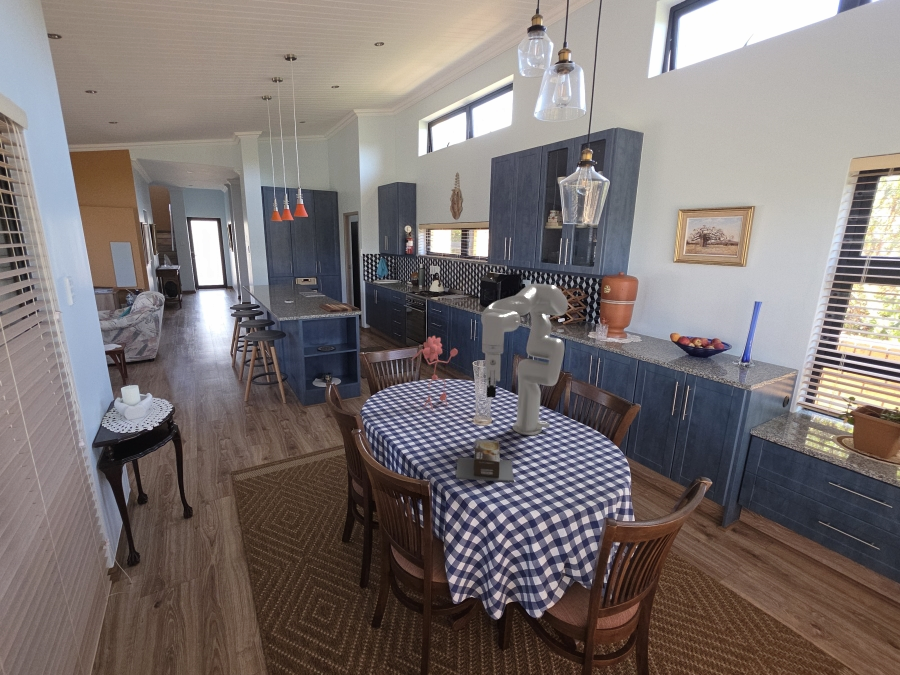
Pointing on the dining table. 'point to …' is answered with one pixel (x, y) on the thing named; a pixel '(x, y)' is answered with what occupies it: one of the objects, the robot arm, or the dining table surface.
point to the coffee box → (486, 458)
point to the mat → (467, 472)
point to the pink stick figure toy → (432, 352)
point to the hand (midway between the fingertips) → (491, 396)
